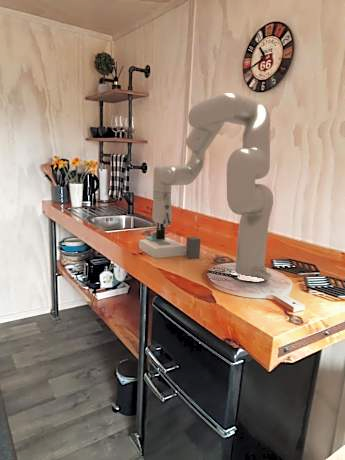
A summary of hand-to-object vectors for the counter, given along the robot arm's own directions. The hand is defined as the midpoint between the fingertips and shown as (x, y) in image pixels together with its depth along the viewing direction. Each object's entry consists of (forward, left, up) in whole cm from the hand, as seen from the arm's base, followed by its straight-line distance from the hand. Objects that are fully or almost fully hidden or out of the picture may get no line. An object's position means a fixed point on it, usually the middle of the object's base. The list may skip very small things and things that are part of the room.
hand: (160, 238), depth 138 cm
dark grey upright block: (-14, -8, -6) cm, 17 cm away
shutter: (+5, 0, -1) cm, 6 cm away
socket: (-3, 0, -5) cm, 6 cm away
